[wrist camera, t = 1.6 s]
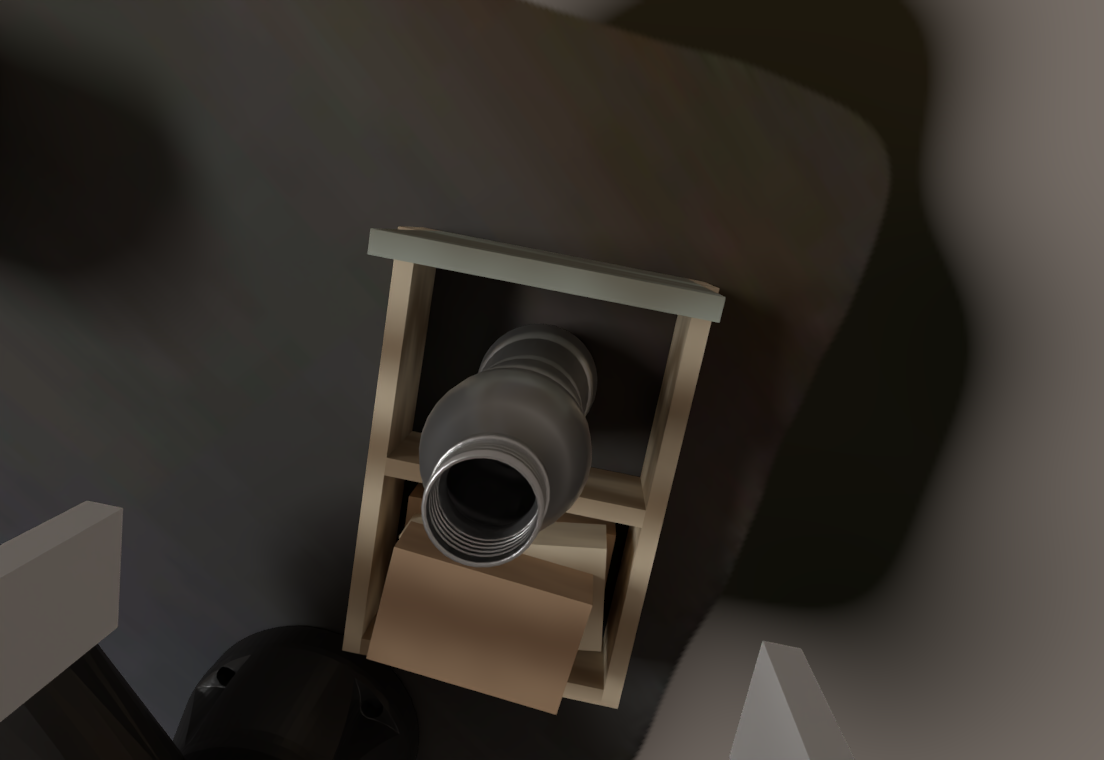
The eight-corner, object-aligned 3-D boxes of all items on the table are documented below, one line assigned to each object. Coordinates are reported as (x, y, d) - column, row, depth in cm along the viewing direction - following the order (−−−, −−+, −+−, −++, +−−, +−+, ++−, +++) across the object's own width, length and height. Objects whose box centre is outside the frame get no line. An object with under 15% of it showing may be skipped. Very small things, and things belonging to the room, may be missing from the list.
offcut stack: (594, 621, 42) (593, 722, 34) (407, 585, 43) (358, 675, 34) (619, 506, 41) (624, 580, 32) (423, 469, 41) (375, 533, 32)
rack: (615, 654, 43) (621, 813, 31) (371, 603, 43) (285, 740, 31) (703, 281, 37) (751, 302, 26) (424, 227, 38) (345, 223, 26)
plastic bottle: (620, 380, 39) (642, 525, 19) (532, 449, 40) (469, 652, 21) (549, 294, 38) (496, 354, 19) (461, 368, 39) (325, 497, 20)
